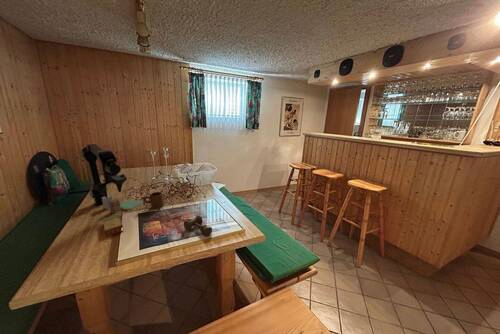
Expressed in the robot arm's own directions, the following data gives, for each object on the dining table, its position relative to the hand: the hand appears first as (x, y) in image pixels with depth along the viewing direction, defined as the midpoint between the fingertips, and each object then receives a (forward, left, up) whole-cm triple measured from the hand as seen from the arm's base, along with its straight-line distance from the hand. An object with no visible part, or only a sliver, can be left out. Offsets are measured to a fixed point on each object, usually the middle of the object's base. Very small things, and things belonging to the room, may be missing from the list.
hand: (113, 194), depth 122 cm
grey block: (-13, +5, -13) cm, 19 cm away
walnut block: (-3, +2, -13) cm, 13 cm away
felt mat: (-3, +13, -13) cm, 18 cm away
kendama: (+60, -1, -13) cm, 62 cm away
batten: (-3, +5, -13) cm, 14 cm away
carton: (+13, -13, -14) cm, 23 cm away
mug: (+17, +14, -13) cm, 26 cm away
